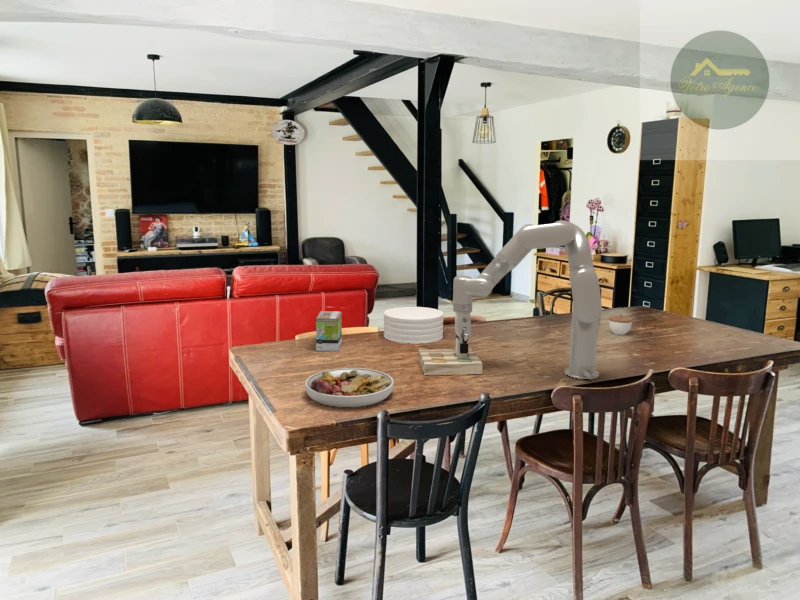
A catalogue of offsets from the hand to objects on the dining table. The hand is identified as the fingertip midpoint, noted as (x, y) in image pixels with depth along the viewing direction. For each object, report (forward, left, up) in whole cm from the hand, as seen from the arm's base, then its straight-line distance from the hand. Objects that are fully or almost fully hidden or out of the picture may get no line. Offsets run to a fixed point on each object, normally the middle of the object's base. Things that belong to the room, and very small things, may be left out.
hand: (461, 349), depth 237 cm
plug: (0, 0, -6) cm, 6 cm away
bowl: (-30, +44, -7) cm, 54 cm away
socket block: (-2, +5, -7) cm, 9 cm away
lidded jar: (+48, -87, -7) cm, 99 cm away
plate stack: (+48, +14, -7) cm, 51 cm away
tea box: (+31, +53, -7) cm, 62 cm away
